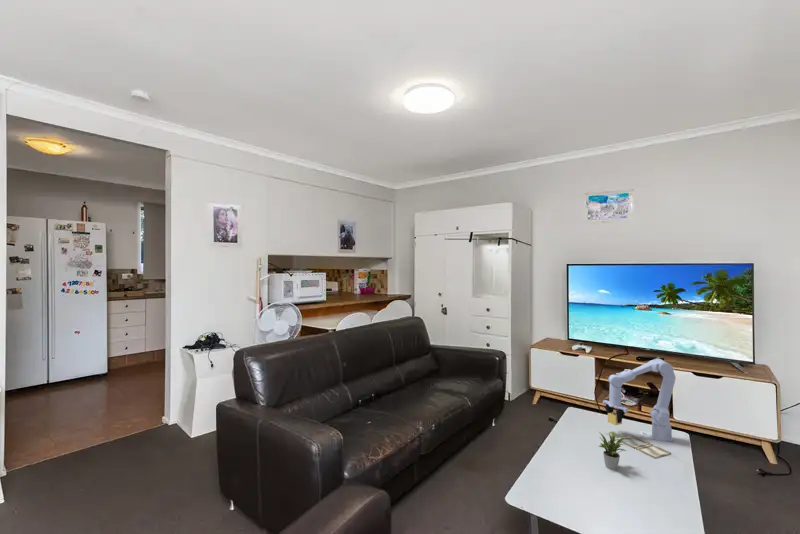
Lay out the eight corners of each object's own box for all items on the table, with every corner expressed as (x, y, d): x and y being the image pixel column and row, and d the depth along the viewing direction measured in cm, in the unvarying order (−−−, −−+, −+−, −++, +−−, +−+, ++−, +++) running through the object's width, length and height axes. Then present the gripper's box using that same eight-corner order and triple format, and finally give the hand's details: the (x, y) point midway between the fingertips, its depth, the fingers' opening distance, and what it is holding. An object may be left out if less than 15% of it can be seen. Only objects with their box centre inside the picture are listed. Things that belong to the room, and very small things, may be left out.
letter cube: (614, 420, 222) (614, 411, 222) (621, 423, 218) (622, 414, 218) (607, 421, 220) (607, 412, 220) (615, 425, 216) (615, 416, 216)
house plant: (635, 478, 177) (635, 442, 176) (602, 474, 179) (602, 439, 179) (623, 462, 191) (624, 429, 190) (593, 459, 193) (593, 426, 193)
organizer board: (618, 430, 226) (618, 428, 226) (672, 455, 197) (672, 452, 197) (601, 434, 221) (601, 432, 221) (655, 460, 192) (655, 457, 192)
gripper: (599, 393, 224) (598, 416, 224) (621, 401, 211) (621, 426, 211) (607, 391, 227) (607, 415, 227) (630, 400, 213) (630, 424, 213)
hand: (614, 420), depth 219 cm, fingers closed on letter cube, 5 cm apart
